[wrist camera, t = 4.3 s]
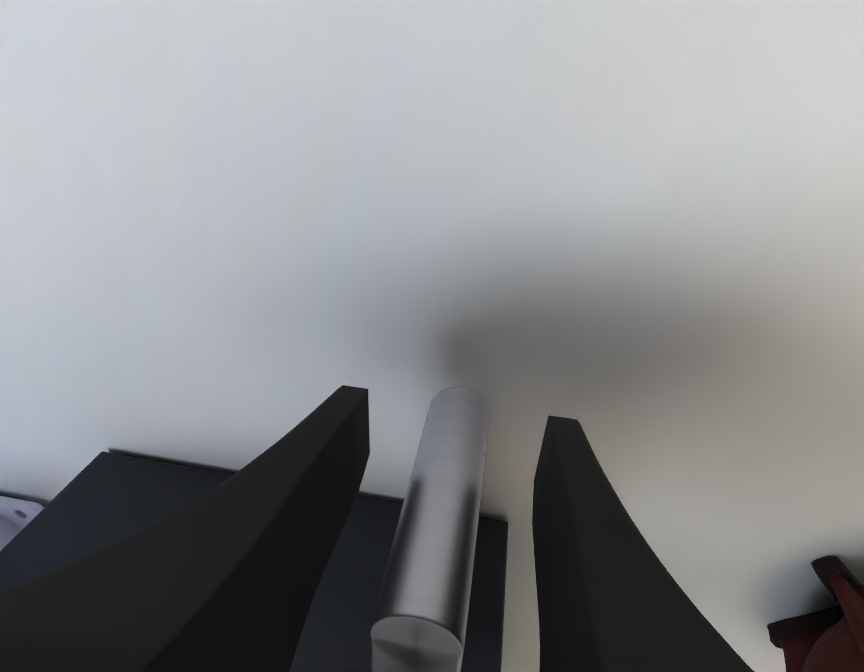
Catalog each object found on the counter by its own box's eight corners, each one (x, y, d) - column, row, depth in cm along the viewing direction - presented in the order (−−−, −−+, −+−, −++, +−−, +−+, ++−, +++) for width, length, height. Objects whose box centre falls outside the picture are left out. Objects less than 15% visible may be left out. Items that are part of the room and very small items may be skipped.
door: (36, 295, 16) (-741, 710, 6) (540, 362, 14) (557, 1111, 4) (107, 465, 20) (-296, 878, 10) (505, 535, 18) (474, 1124, 8)
